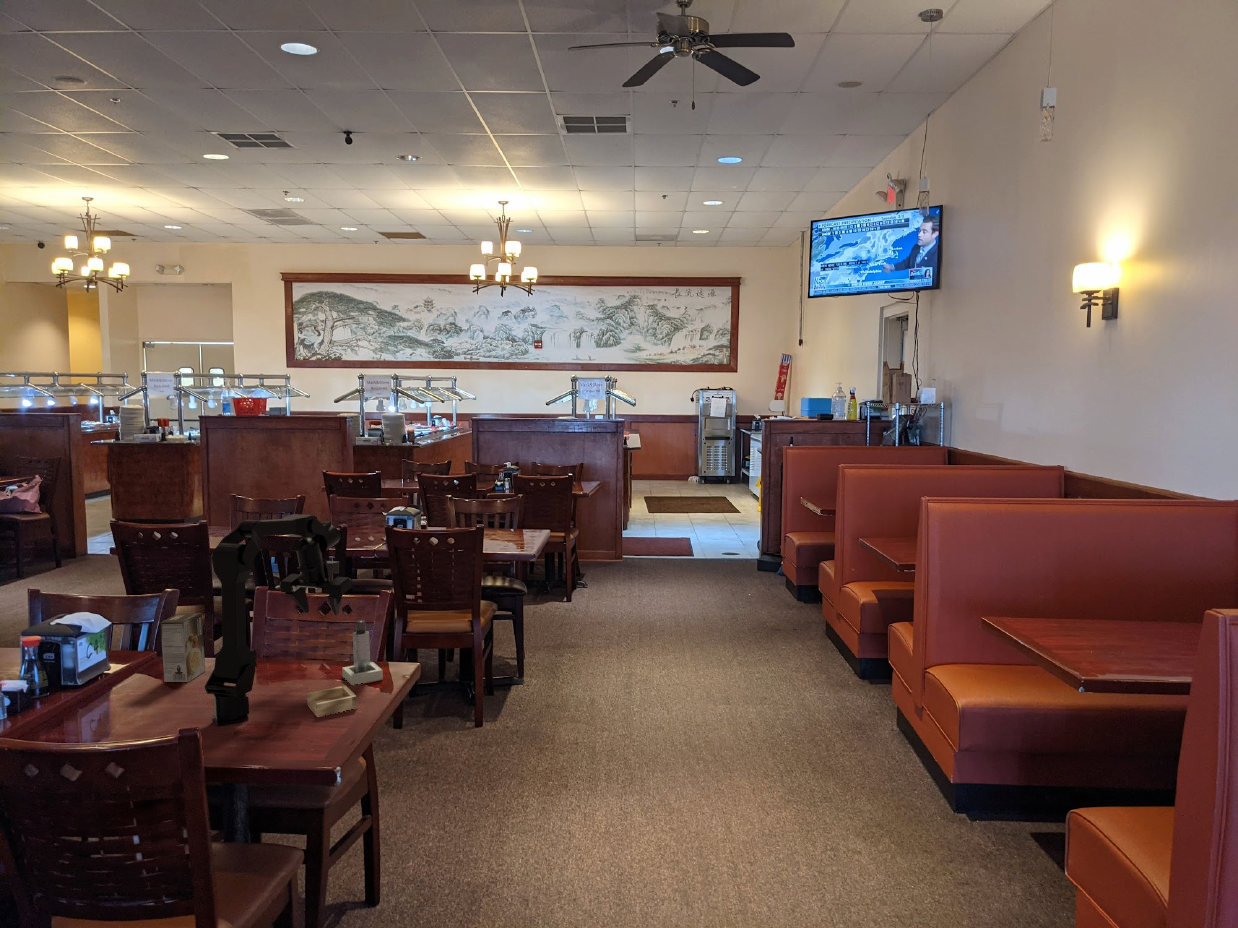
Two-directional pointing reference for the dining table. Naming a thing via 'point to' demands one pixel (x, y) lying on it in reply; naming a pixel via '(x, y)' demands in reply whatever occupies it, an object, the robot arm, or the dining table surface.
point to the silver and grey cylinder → (361, 648)
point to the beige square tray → (331, 701)
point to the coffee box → (183, 647)
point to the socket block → (362, 674)
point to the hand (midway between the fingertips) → (322, 613)
